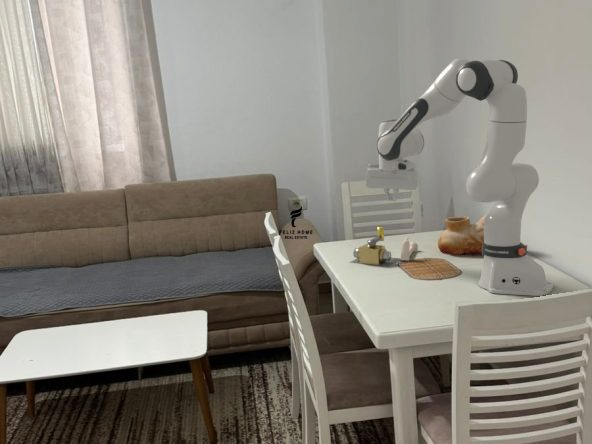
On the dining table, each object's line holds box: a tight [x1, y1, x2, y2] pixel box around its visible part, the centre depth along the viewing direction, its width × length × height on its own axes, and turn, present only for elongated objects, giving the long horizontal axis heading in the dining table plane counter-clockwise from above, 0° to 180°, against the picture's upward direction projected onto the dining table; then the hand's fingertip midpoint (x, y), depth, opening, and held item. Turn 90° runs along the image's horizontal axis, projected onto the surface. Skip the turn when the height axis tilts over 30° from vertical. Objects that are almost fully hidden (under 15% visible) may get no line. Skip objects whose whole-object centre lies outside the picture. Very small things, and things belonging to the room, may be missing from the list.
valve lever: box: [367, 226, 385, 247], centre depth 235 cm, size 11×3×6 cm, turn 147°
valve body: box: [353, 243, 392, 266], centre depth 233 cm, size 14×6×6 cm, turn 57°
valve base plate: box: [349, 257, 401, 268], centre depth 235 cm, size 16×12×1 cm
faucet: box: [400, 235, 419, 262], centre depth 240 cm, size 4×18×10 cm, turn 158°
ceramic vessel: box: [437, 213, 488, 257], centre depth 240 cm, size 14×26×15 cm, turn 81°
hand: (391, 200), depth 233 cm, fingers closed
